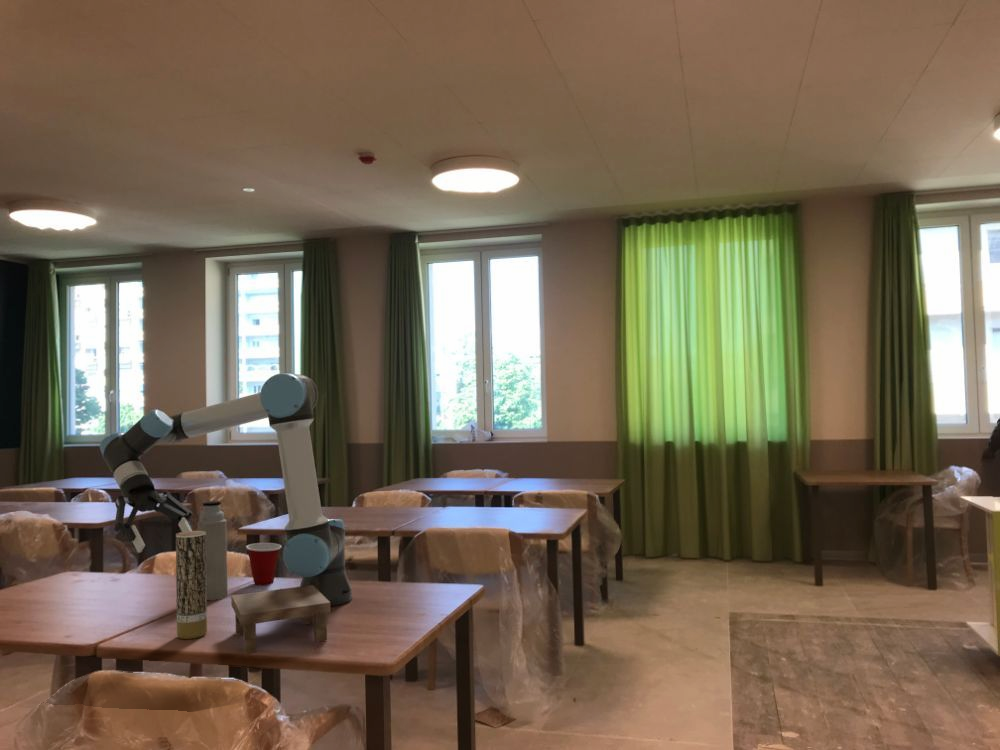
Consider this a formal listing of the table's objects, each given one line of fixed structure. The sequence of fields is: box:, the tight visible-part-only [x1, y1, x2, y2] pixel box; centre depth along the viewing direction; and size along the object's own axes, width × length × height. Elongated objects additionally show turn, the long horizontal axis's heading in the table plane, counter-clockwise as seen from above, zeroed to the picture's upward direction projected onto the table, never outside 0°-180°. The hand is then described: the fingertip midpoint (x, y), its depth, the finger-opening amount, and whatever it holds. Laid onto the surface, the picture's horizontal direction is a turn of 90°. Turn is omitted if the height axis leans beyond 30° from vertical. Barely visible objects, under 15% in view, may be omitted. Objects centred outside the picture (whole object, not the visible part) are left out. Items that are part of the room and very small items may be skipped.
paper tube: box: [175, 530, 208, 640], centre depth 185 cm, size 7×7×25 cm
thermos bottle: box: [197, 500, 229, 601], centre depth 223 cm, size 8×8×28 cm
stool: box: [230, 585, 331, 655], centre depth 182 cm, size 20×20×9 cm
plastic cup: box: [245, 542, 282, 586], centre depth 238 cm, size 11×11×12 cm
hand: (167, 544), depth 190 cm, fingers open, 13 cm apart
